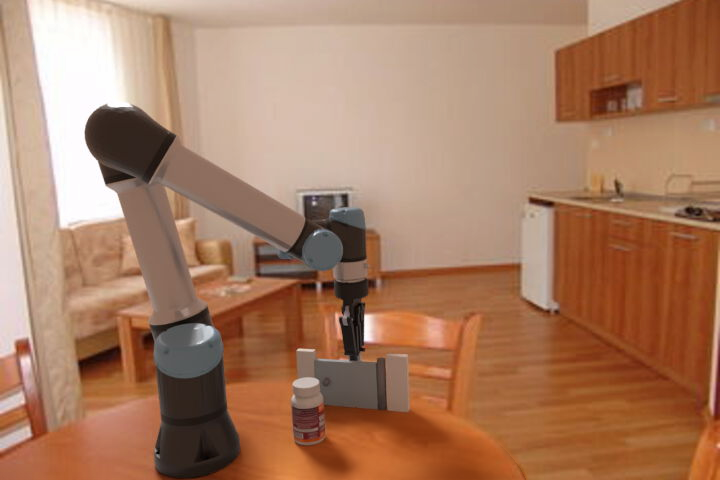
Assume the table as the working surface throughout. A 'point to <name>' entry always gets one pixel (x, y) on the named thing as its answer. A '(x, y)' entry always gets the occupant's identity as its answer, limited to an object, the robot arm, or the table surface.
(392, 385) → the wall frame
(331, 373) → the door
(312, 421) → the pill bottle
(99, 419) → the table surface
